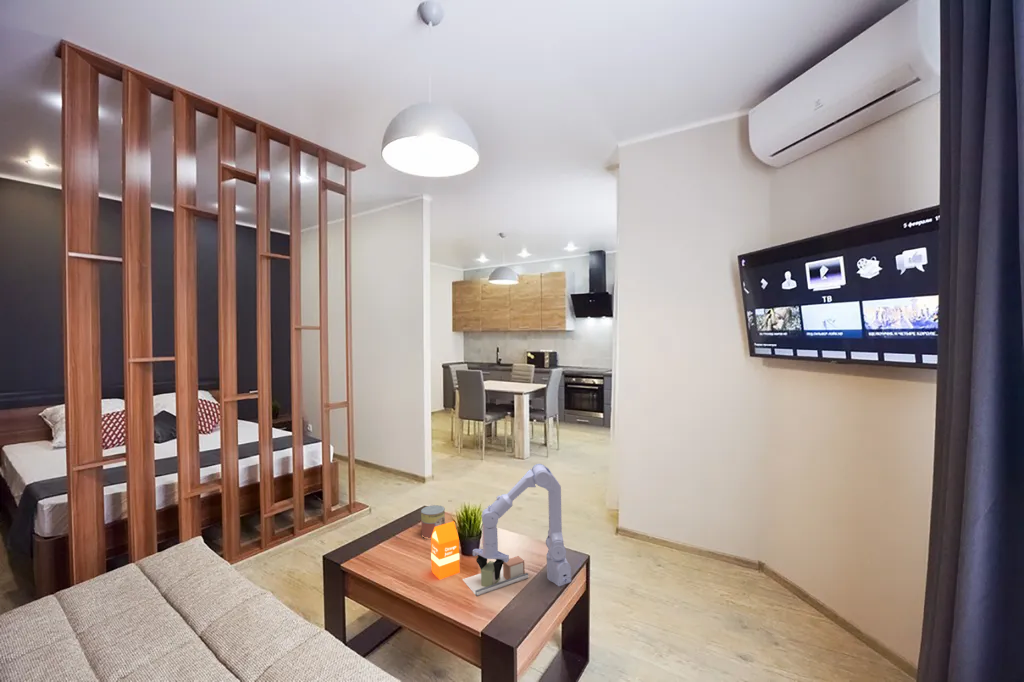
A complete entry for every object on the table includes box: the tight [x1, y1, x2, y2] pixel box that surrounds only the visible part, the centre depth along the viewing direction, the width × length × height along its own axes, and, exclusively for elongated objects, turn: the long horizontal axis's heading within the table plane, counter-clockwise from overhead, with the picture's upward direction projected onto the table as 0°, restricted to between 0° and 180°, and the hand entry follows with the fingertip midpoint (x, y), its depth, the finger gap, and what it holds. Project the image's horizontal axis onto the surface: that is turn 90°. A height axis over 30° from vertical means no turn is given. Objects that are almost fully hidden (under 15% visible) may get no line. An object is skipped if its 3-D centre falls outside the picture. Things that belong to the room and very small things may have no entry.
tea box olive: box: [480, 560, 500, 587], centre depth 162 cm, size 5×7×6 cm
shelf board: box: [462, 565, 529, 597], centre depth 165 cm, size 13×22×2 cm, turn 120°
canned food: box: [420, 504, 446, 538], centre depth 207 cm, size 11×11×12 cm
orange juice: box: [430, 520, 461, 580], centre depth 170 cm, size 8×9×20 cm
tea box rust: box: [502, 555, 526, 580], centre depth 166 cm, size 5×7×6 cm
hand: (491, 577), depth 162 cm, fingers open, 5 cm apart
